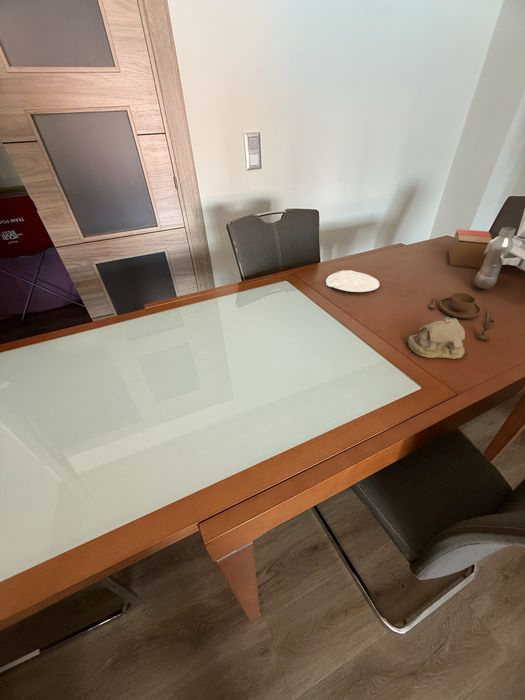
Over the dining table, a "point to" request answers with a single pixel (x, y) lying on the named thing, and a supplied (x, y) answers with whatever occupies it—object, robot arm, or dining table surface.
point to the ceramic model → (439, 339)
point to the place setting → (464, 310)
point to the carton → (468, 250)
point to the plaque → (352, 281)
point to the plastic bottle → (494, 258)
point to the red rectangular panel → (473, 233)
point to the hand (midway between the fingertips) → (493, 256)
